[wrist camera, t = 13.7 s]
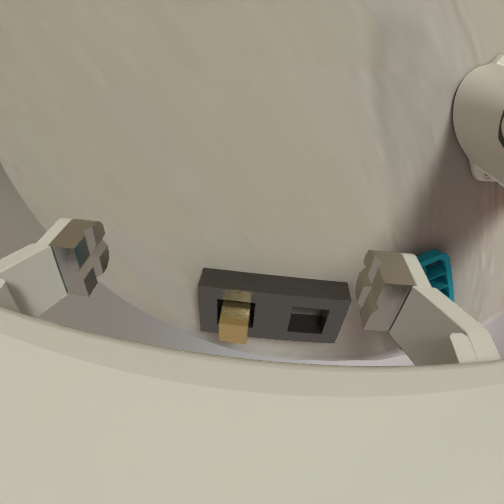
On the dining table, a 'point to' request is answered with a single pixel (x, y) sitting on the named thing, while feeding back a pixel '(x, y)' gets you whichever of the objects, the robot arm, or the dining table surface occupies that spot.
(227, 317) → the peg
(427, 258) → the ice cube tray
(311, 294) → the block with square holes
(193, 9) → the dining table surface
